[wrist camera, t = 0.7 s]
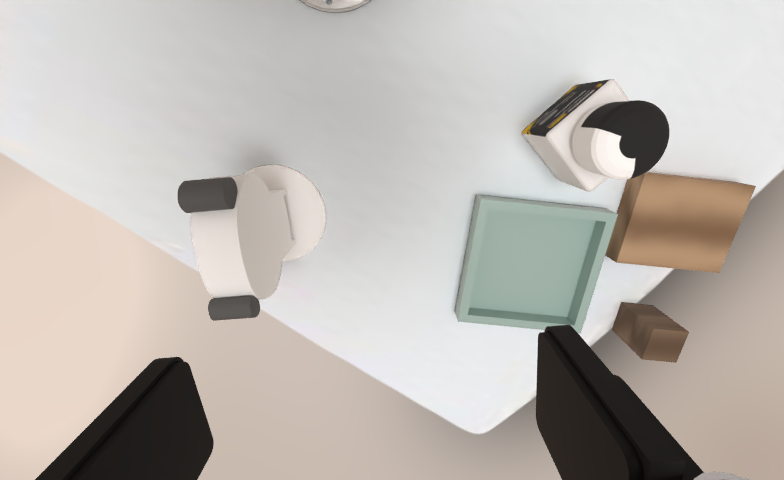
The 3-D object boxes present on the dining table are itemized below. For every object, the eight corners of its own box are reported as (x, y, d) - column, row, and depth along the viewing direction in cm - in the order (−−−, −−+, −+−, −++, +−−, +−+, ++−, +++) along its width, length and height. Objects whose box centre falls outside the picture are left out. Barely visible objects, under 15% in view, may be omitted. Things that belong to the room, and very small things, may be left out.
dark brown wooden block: (621, 302, 46) (653, 328, 40) (652, 305, 46) (689, 332, 41) (612, 329, 47) (641, 359, 42) (642, 332, 48) (676, 362, 42)
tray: (476, 194, 42) (481, 199, 40) (605, 208, 42) (618, 213, 40) (454, 310, 47) (457, 321, 44) (571, 322, 47) (580, 333, 45)
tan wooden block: (627, 169, 41) (645, 173, 39) (731, 181, 42) (755, 186, 39) (602, 253, 45) (616, 262, 42) (698, 262, 45) (719, 272, 42)
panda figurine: (215, 163, 41) (121, 189, 27) (317, 154, 41) (275, 175, 26) (239, 263, 45) (168, 332, 31) (332, 256, 44) (303, 322, 30)
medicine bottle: (575, 83, 38) (653, 70, 27) (613, 136, 40) (700, 144, 28) (519, 132, 40) (570, 139, 28) (558, 181, 41) (620, 206, 30)
